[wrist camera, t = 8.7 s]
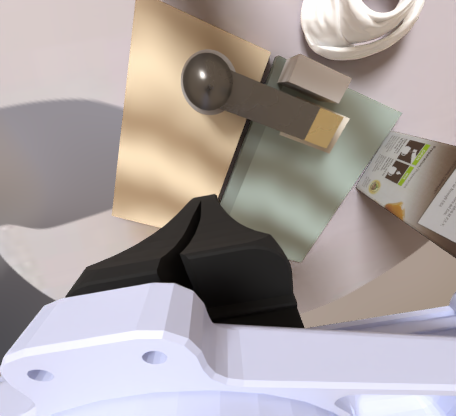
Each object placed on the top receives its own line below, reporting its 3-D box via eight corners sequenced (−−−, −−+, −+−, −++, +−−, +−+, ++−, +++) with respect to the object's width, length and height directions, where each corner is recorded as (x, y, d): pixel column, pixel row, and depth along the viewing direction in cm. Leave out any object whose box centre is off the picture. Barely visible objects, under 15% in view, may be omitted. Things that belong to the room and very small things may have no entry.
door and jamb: (298, 257, 27) (310, 281, 24) (115, 210, 23) (97, 232, 19) (393, 112, 19) (433, 117, 16) (141, -5, 15) (118, -34, 11)
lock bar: (183, 98, 17) (177, 100, 14) (194, 51, 15) (189, 43, 13) (311, 146, 19) (327, 155, 16) (331, 108, 18) (351, 112, 15)
